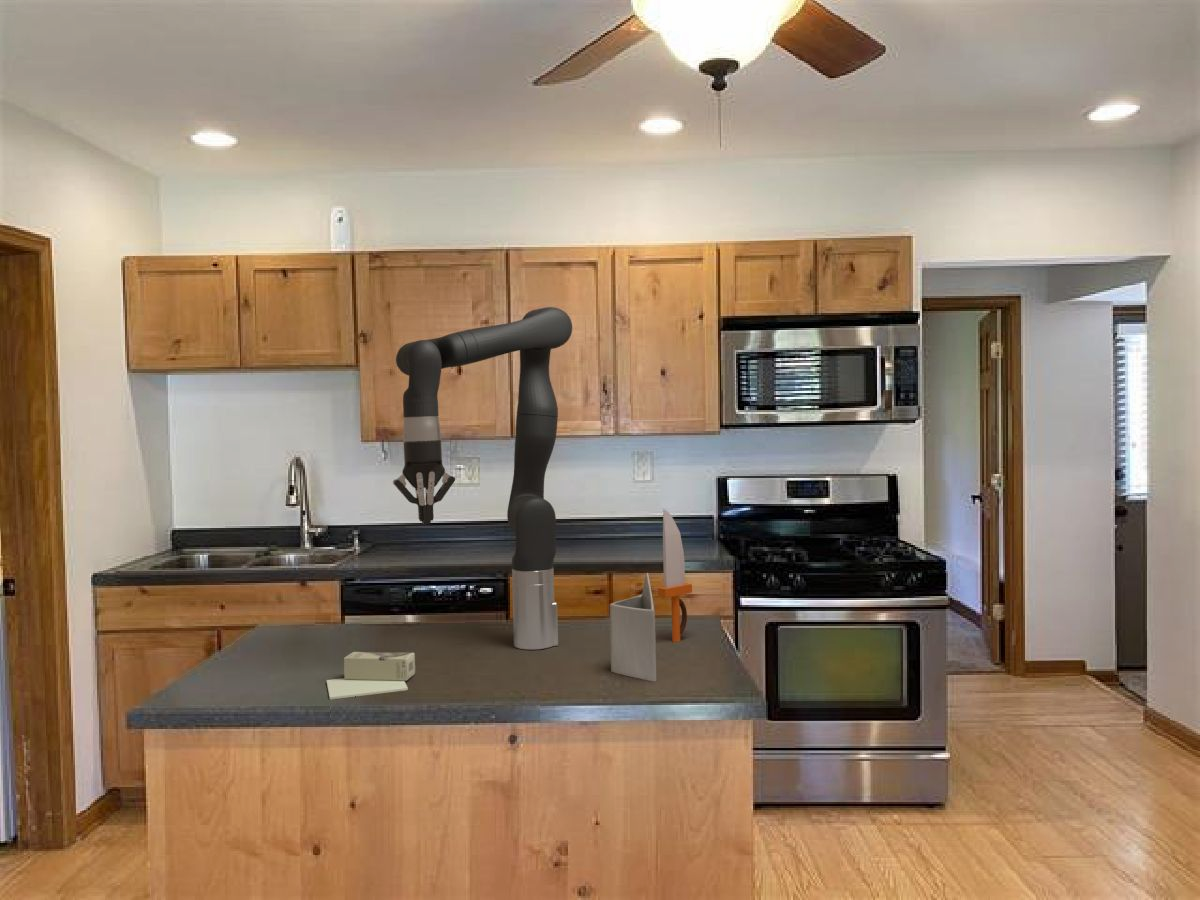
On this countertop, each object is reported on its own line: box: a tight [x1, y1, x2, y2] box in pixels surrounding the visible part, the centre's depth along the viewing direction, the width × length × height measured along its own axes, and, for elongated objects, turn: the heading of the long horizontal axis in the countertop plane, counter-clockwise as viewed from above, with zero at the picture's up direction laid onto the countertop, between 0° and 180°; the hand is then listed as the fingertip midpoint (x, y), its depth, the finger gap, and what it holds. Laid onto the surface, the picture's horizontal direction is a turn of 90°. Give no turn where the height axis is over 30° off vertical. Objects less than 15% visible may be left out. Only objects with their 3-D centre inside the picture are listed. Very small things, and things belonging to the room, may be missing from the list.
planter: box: [609, 572, 657, 683], centre depth 176 cm, size 16×8×19 cm, turn 4°
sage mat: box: [326, 678, 409, 701], centre depth 170 cm, size 14×12×1 cm
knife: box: [657, 508, 693, 643], centre depth 199 cm, size 8×2×30 cm, turn 129°
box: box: [343, 651, 416, 682], centre depth 175 cm, size 5×4×13 cm
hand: (426, 523), depth 183 cm, fingers closed
